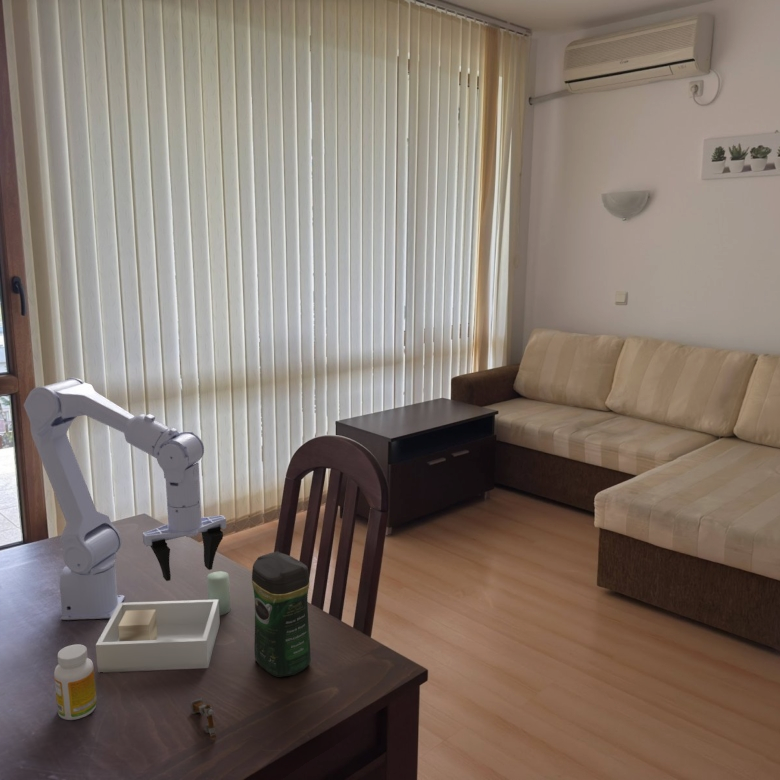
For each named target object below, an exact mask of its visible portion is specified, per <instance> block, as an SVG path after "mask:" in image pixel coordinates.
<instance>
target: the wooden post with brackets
mask: <svg viewBox="0 0 780 780" xmlns="http://www.w3.org/2000/svg"><path fill="white" fill-rule="evenodd" d="M189 704H190V705H189V706H190V711H191V714H192V715H195V714H197V713H198V714H201V715H204V716H205V717H206V719H207V723H205V724H203V730H204V732H205V734H208V733H209V736H210V739H212V740H213V739H215V738H217V736H216V727H215V725H214V724H215V723H214V719H213V715H215V714H214V708H213V706H211V705H210V704H204V702H203V698H197V699H194V700H192V701H189Z"/></svg>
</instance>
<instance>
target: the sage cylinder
mask: <svg viewBox="0 0 780 780" xmlns="http://www.w3.org/2000/svg"><path fill="white" fill-rule="evenodd" d="M206 585H207V588H206V589H207V600H215V599H219V616H224V615H226V614H227V613H230V611H231V601H230V600H231V598H230V597H231V596H230V593H231V592H230V575H229V573H228V572H226V571H221V570H219V571H213V572H210V573H208V574H207V576H206Z"/></svg>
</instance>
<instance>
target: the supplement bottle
mask: <svg viewBox="0 0 780 780" xmlns="http://www.w3.org/2000/svg"><path fill="white" fill-rule="evenodd" d="M57 663H58V664H57V665H56V666H55V667H54V673H53V677H54V687H55V697H56V707H57V708H56V709H57V714H58V716H59V717H60V718H61V719H62V720H67V721H74V720H79V719H83V718H84V717H87V716H89V715H90V714H92V713H93V712H94V711H95V709H96V707H97V704H98V701H97V692H96V680H95V672H94V671H95V669H94V663H93V661H92V659H90V658H89V657H88V648H87V646H85V645H83V644H80V643H79V644H77V643H75V644H72V645H71V644H70V645H67V646H65V647H63V648H61V649H60V650H59V651H58V653H57Z"/></svg>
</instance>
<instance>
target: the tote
mask: <svg viewBox="0 0 780 780" xmlns="http://www.w3.org/2000/svg"><path fill="white" fill-rule="evenodd" d="M130 610H156V623H157V637H156V640H143V641H119V629H118V625H119V623H120V622H121V620H122V618H123V616H124V614H125V612H126V611H130ZM220 618H221V617H220V615H219V599H215V600H208V599H194V600H193V599H192V600H191V599H190V600H187V599H186V600H164V601H163V600H162V601H160V600H159V601H132V602H131V601H130V602H122V603H119V604H118V606H117V607H116V609H115V611H114V613H113V615H112V616H111V618H109V620H108V622H107V624H106V625H105V627H104V629H103V630H102V633H101V635H100V636H99V638H98V640H97V641H96V644H95V654H96V655H95V656H96V666H97V667H96V668H97V673H98V674H100V672H103V673H120V672H121V673H122V672H123V673H124V672H145V671H167V670H168V671H169V670H170V671H171V670H191V669H193V670H194V669H208V668H209V667H210V662H211V659H212V654H213V651H214V647H215V643H216V640H217V636H218V632H219V628H220V625H221V623H220V621H221V620H220Z"/></svg>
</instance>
